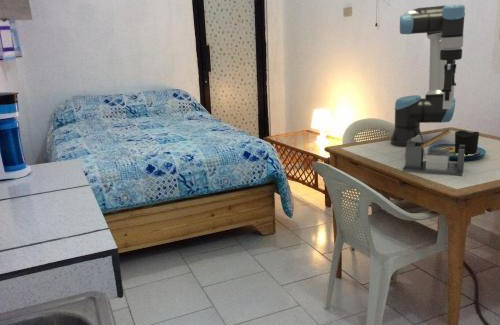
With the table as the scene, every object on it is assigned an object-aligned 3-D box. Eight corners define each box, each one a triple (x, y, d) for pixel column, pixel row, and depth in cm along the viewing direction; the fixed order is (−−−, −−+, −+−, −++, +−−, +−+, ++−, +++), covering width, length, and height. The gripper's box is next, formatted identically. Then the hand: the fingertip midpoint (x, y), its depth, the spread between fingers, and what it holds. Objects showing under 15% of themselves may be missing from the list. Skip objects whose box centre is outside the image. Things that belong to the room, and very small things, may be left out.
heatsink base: (402, 171, 179) (403, 148, 176) (407, 162, 190) (408, 139, 187) (462, 175, 169) (463, 151, 166) (463, 165, 180) (465, 142, 177)
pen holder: (461, 158, 189) (462, 136, 186) (449, 152, 198) (450, 131, 195) (481, 156, 190) (483, 134, 187) (469, 150, 199) (471, 129, 196)
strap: (416, 152, 179) (414, 149, 179) (417, 149, 182) (415, 147, 182) (450, 133, 171) (448, 130, 171) (451, 130, 174) (449, 127, 174)
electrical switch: (418, 159, 192) (417, 139, 190) (406, 159, 196) (405, 139, 194) (425, 154, 199) (424, 134, 197) (413, 154, 203) (412, 134, 200)
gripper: (443, 46, 175) (440, 99, 182) (437, 52, 155) (434, 111, 161) (464, 45, 172) (460, 99, 178) (460, 51, 152) (456, 112, 158)
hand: (448, 105), depth 170 cm, fingers open, 12 cm apart
